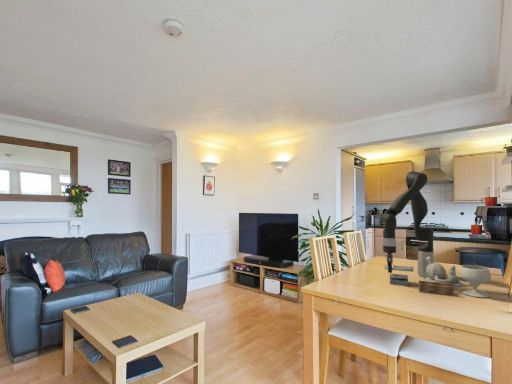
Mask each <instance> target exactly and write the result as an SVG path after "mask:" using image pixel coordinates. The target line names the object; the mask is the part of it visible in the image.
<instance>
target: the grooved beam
mask: <svg viewBox="0 0 512 384" xmlns="http://www.w3.org/2000/svg"><path fill="white" fill-rule="evenodd" d="M454 288H455V287H453V286H452V284H447V283H438V282H428V281H423V280H418V290H419V293H424V294H430V295H431V294H432V295H433V294H434V295H442V296H450V297H455V292H454V291H455V289H454Z"/></svg>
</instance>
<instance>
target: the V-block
mask: <svg viewBox="0 0 512 384" xmlns="http://www.w3.org/2000/svg"><path fill="white" fill-rule="evenodd" d="M408 276H409V275H408V274H398V273H389V285H393V286H394V285H396V286H401V285H402V286H403V287H409V277H408Z"/></svg>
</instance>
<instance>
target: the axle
mask: <svg viewBox="0 0 512 384" xmlns="http://www.w3.org/2000/svg"><path fill="white" fill-rule="evenodd" d="M387 265H388V264H384V270H386V271H388V266H387ZM392 271H399V272H400V271H401V272H412V273H413V272H414V266H404V265H403V266H402V265H394V264H392Z"/></svg>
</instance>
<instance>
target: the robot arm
mask: <svg viewBox="0 0 512 384" xmlns="http://www.w3.org/2000/svg"><path fill="white" fill-rule="evenodd" d="M405 182H406V186H407V191H404V192H403V193H402V194H400V195H398V196H397V197H396V198H395V200H394V201H393V202H392V204H391V205H390V207H389V208H388V209H386V211H384V212H383V214H382V216H381V222H382V223H383V224H384V229H383V230H382V235H383V237H382V252H383V253H387V254H386V255H385V258H386V263H387V264H386V265H387V266H388V270H387V272H388V273H389V274H393V270H392V265H393V264H394V255H393V254H396V253H397V240H396V228H397V215H399V214H401V213H402V212H403V210H405V207H406V206H407V205H408V203H410V207H411V213H412V217H413V218H412V219H413V227H414V228H413V229H414V238H415V240H417V241H419V242H420V241H421V242H427V243H426V244H423V245H418V246H417V275H418V276H419V277H422V278H427V277H428V275H427V272H426V268H427V266H428V265H429V263H428V261H427V259H426V258H427V257H431V259H432V261H433V262H434V263H435V257H434V256H435V254H434V230H433V228H432V227H421V224H422V223H423V220H424V219H425V218H426V217H427V215H428V212H429V211H428V210H429V209H428V203H427V200H426V198H425V197H424V196H423V194H422V193H421V190H422V189H423V188H424V187H425V185H426V184H427V183H428V175H427V174H426V173H424V172H419V171H418V172H417V171H414V170H413V171H408V172H407V174H406V177H405Z"/></svg>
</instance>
